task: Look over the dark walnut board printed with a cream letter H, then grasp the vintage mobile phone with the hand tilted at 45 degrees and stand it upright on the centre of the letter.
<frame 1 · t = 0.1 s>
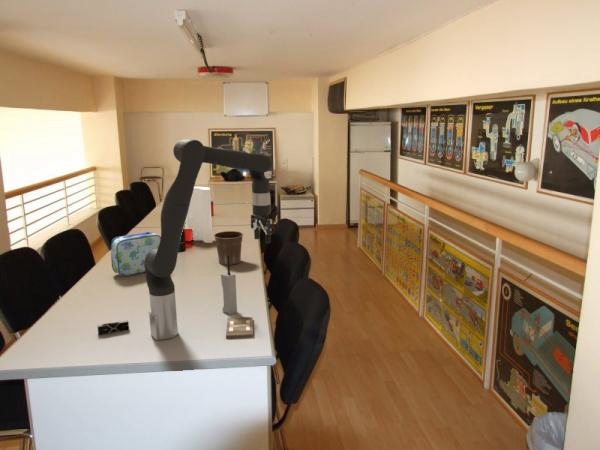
hand: (262, 241, 207), 29 cm above the table, tool pointing down, fingers open, 8 cm apart
lunch box: (139, 271, 263), on the table
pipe: (199, 240, 326), on the table
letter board: (239, 328, 192), on the table
plant pot: (229, 262, 278), on the table
vintage mobile phone: (229, 312, 208), on the table
graphics card: (113, 332, 190), on the table
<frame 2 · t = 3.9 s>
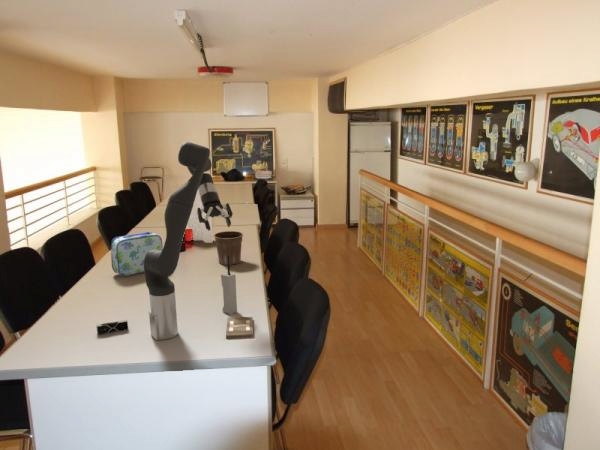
hand: (219, 227, 205), 35 cm above the table, tool tilted 40°, fingers open, 8 cm apart
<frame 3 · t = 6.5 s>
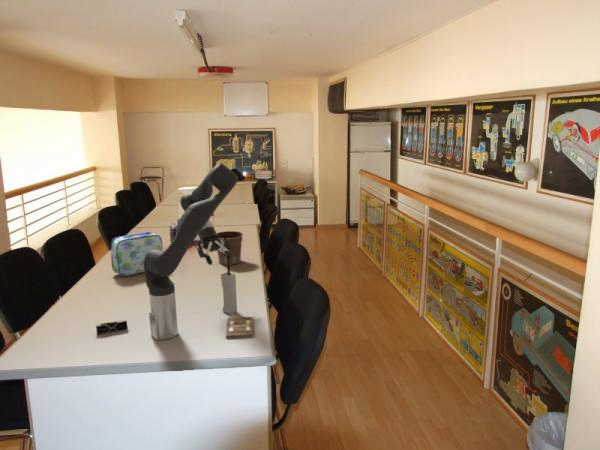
hand: (220, 261, 210), 20 cm above the table, tool tilted 45°, fingers open, 8 cm apart
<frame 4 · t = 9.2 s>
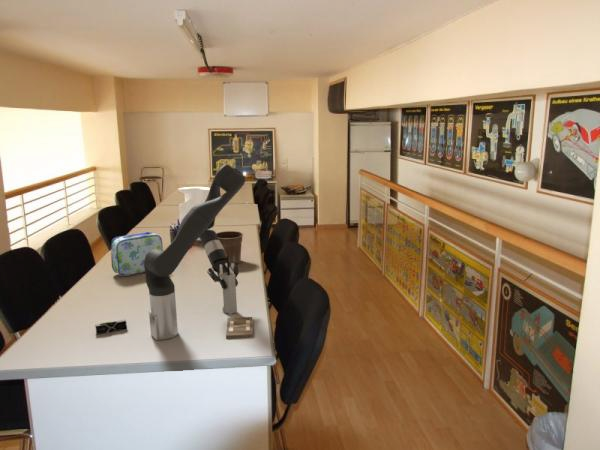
hand: (230, 287, 204), 12 cm above the table, tool tilted 45°, fingers closed on vintage mobile phone, 4 cm apart
vintage mobile phone: (229, 312, 208), on the table, touching gripper
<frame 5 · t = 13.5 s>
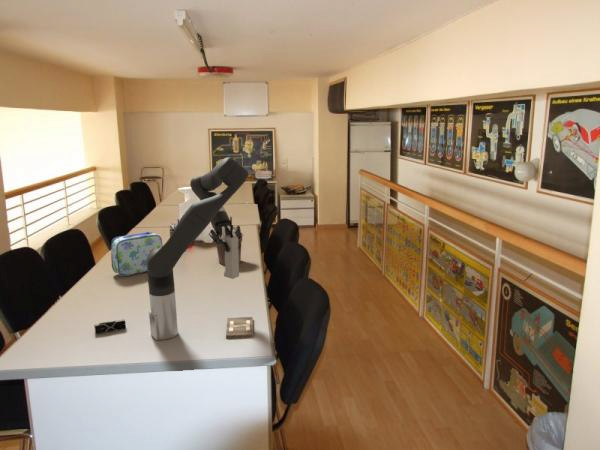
hand: (233, 250, 195), 29 cm above the table, tool tilted 45°, fingers closed on vintage mobile phone, 4 cm apart
vintage mobile phone: (231, 277, 200), point 17 cm above the table, touching gripper
when the fingers open (14 cm above the table, at t = 17.6 s): vintage mobile phone stays where it is, resting on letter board.
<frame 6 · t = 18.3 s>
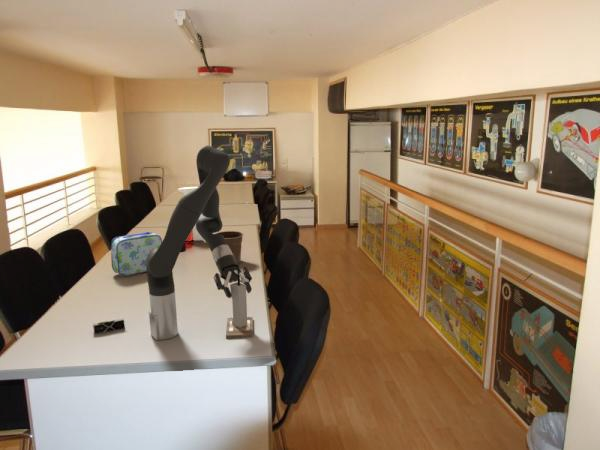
hand: (240, 294, 188), 14 cm above the table, tool tilted 45°, fingers open, 8 cm apart
vintage mobile phone: (239, 325, 192), point 1 cm above the table, touching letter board
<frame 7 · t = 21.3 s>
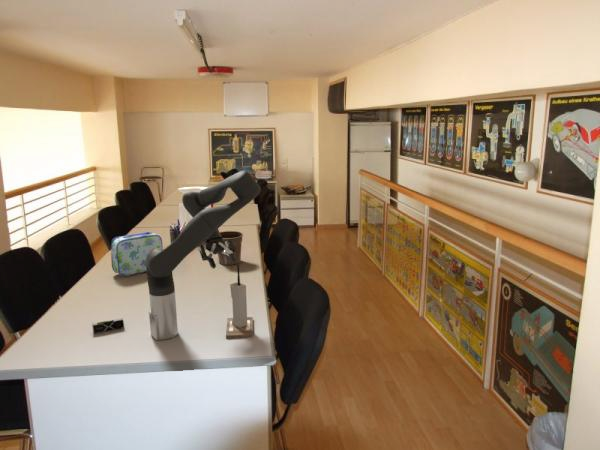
hand: (224, 265, 195), 23 cm above the table, tool tilted 45°, fingers open, 8 cm apart
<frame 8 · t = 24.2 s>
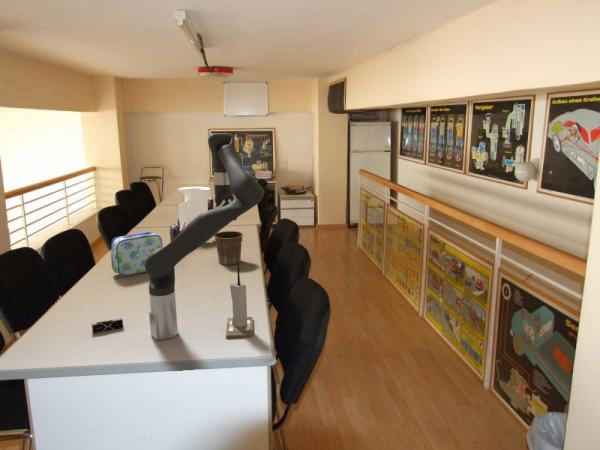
hand: (225, 221, 204), 38 cm above the table, tool pointing down, fingers open, 8 cm apart
at the end: vintage mobile phone inside the target area on the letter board (0.2 cm from its centre), point 1.1 cm above the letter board's base; vintage mobile phone tilted 0°; the gripper is holding nothing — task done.
